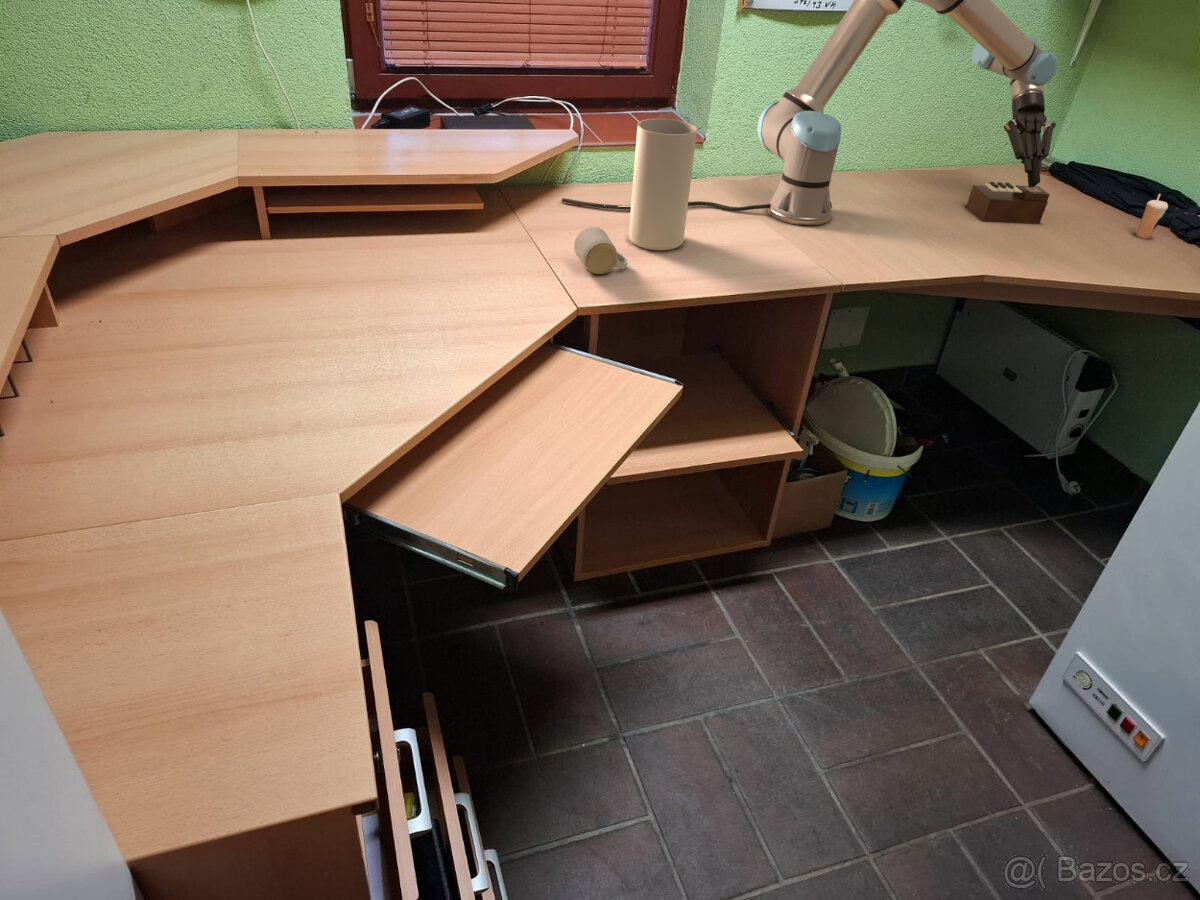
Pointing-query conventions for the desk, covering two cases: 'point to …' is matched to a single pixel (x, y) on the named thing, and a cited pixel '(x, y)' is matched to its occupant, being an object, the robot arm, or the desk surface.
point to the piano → (1008, 205)
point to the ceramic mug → (597, 251)
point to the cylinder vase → (661, 183)
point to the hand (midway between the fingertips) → (1034, 184)
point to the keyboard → (1002, 187)
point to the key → (1032, 189)
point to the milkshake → (1151, 217)
